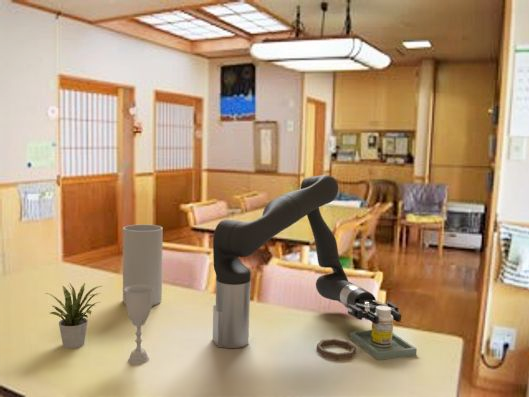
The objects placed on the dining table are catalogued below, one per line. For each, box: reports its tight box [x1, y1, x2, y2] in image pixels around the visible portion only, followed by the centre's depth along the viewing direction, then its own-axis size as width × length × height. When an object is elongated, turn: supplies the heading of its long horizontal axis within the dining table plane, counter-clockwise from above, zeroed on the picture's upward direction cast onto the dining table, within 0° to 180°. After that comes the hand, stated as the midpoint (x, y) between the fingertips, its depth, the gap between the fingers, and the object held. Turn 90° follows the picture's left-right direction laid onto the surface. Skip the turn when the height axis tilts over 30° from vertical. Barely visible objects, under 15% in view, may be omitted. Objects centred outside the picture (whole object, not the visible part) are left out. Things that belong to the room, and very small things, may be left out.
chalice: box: [124, 284, 154, 365], centre depth 120 cm, size 7×7×18 cm
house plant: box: [45, 282, 102, 349], centre depth 128 cm, size 14×14×16 cm
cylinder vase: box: [122, 224, 164, 307], centre depth 163 cm, size 12×12×25 cm
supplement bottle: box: [371, 306, 394, 347], centre depth 134 cm, size 6×6×10 cm
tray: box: [349, 329, 418, 361], centre depth 135 cm, size 12×15×2 cm
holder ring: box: [316, 338, 357, 361], centre depth 130 cm, size 10×10×2 cm
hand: (388, 319), depth 132 cm, fingers open, 6 cm apart
